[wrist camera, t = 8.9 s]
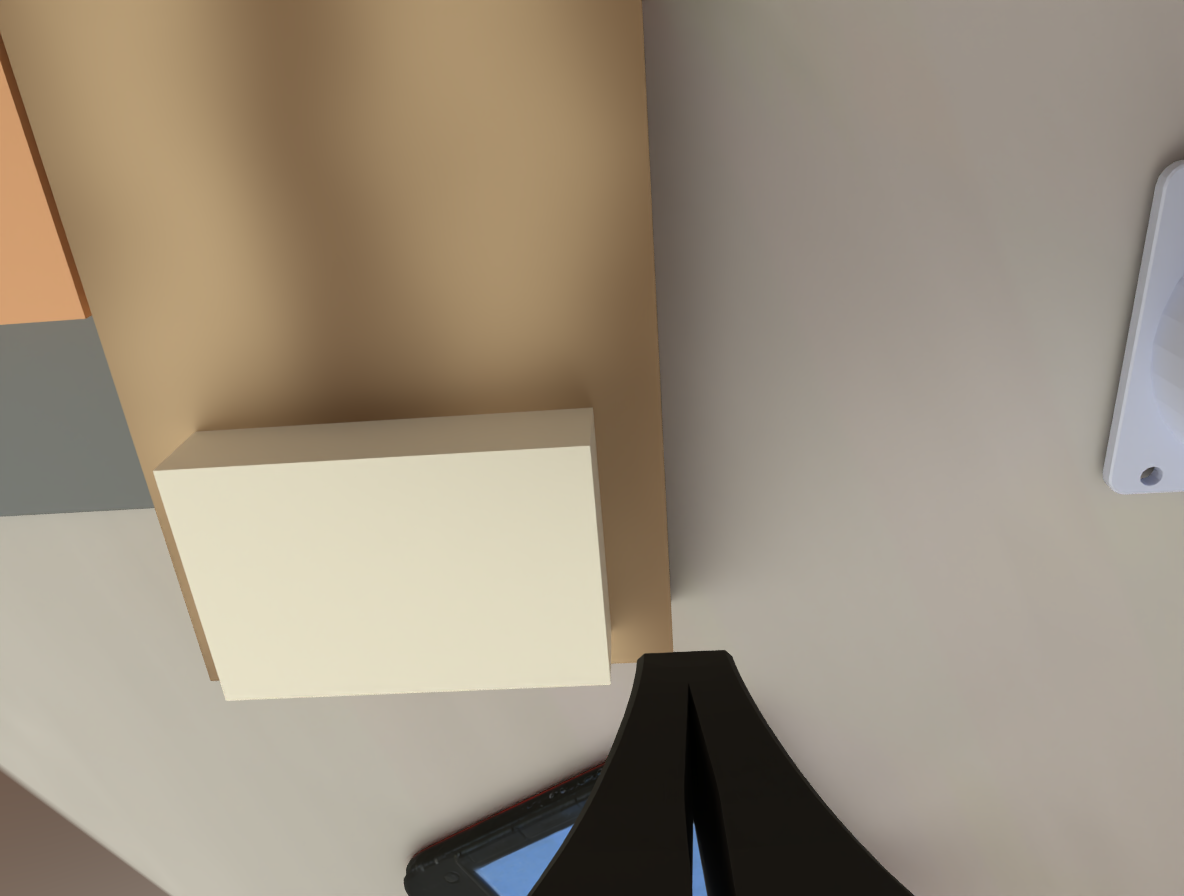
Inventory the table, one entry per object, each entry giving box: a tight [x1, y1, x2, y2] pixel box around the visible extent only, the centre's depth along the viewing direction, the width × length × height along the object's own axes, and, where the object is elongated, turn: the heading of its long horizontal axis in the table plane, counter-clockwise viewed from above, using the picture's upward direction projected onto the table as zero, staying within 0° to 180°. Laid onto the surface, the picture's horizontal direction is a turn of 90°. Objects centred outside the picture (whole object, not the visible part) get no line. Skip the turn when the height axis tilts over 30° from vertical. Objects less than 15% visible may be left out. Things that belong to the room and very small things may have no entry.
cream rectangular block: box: [153, 408, 611, 701], centre depth 20 cm, size 9×6×2 cm, turn 94°
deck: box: [0, 0, 673, 681], centre depth 19 cm, size 12×22×2 cm, turn 4°
